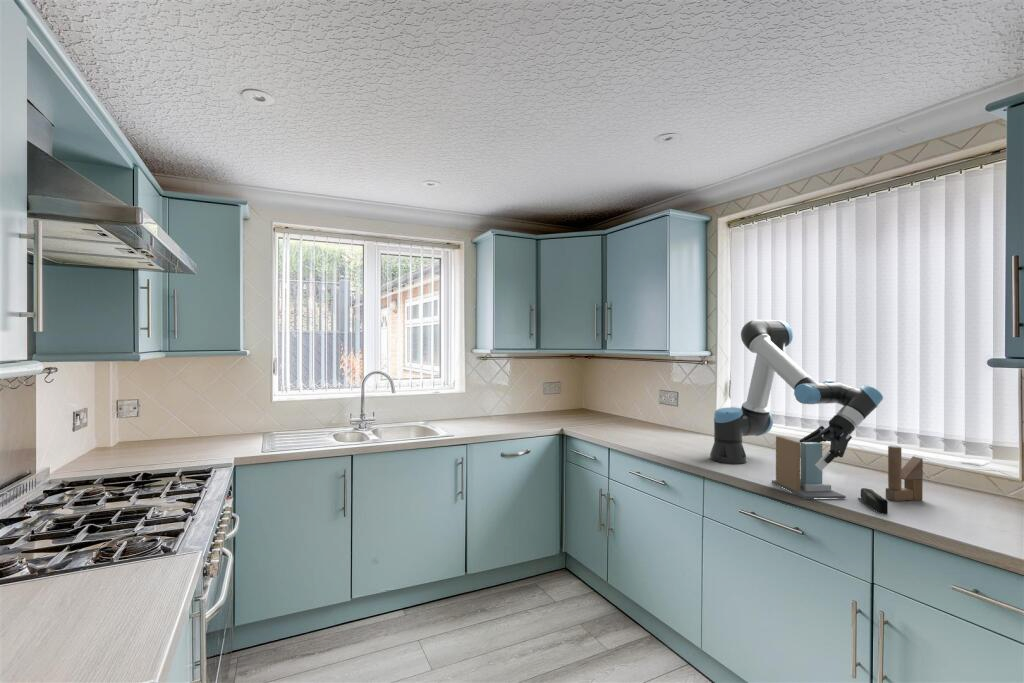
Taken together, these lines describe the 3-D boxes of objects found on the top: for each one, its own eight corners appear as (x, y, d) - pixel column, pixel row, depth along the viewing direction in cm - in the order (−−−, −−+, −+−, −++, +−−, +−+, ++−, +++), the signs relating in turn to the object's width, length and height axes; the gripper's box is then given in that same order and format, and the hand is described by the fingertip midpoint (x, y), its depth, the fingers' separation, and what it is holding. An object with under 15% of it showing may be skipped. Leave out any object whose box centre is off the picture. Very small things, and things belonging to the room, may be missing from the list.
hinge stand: (771, 483, 187) (771, 435, 187) (807, 482, 187) (807, 435, 188) (805, 499, 167) (805, 446, 167) (845, 499, 167) (845, 445, 168)
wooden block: (923, 500, 166) (923, 447, 166) (894, 501, 165) (894, 447, 165) (912, 497, 170) (912, 444, 170) (884, 498, 169) (884, 445, 169)
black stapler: (890, 499, 152) (865, 485, 167) (879, 499, 153) (855, 484, 167) (889, 515, 152) (865, 499, 167) (878, 515, 153) (855, 499, 168)
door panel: (800, 486, 178) (800, 442, 179) (816, 486, 179) (816, 442, 179) (806, 489, 175) (806, 443, 176) (822, 488, 176) (822, 443, 176)
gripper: (880, 435, 166) (836, 480, 165) (828, 423, 191) (790, 462, 190) (864, 419, 165) (821, 464, 164) (815, 409, 190) (777, 448, 189)
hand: (805, 463), depth 177 cm, fingers open, 13 cm apart
